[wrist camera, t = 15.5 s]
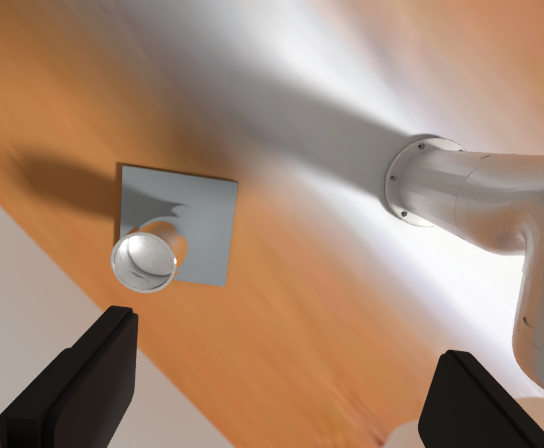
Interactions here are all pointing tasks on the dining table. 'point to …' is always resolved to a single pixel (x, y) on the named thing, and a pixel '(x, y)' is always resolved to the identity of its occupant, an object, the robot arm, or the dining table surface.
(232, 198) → the grey mat
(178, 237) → the beer glass
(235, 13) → the dining table surface
